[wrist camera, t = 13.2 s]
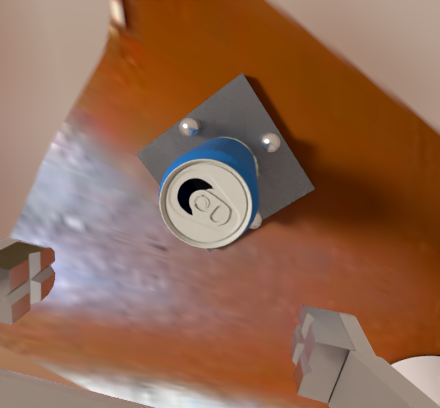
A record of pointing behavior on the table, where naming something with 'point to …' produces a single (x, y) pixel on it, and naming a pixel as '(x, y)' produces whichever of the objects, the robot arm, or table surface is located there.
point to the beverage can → (210, 193)
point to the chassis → (242, 132)
